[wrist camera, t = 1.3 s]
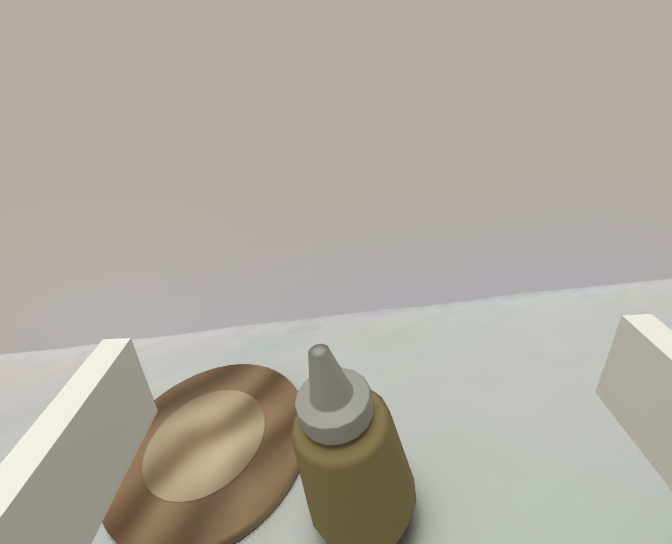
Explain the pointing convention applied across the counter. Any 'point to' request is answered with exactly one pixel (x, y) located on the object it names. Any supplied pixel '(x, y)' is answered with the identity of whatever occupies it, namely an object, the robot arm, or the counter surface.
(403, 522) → the squeeze bottle
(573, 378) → the counter surface
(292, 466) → the walnut board
